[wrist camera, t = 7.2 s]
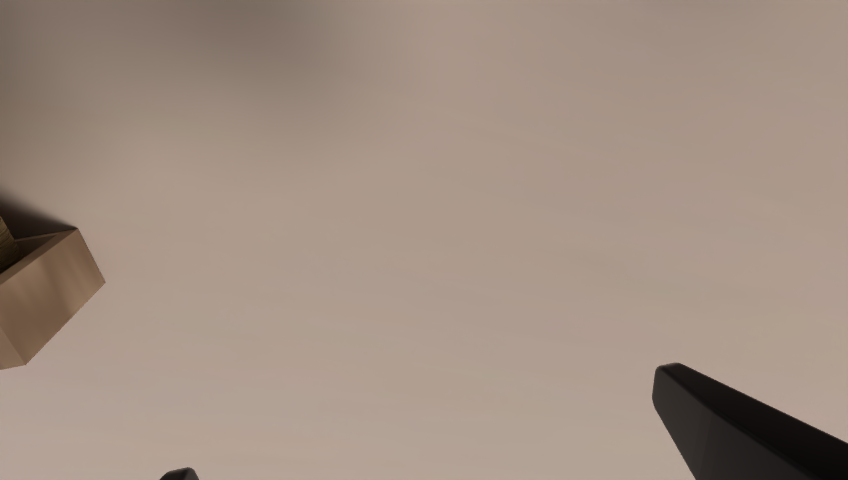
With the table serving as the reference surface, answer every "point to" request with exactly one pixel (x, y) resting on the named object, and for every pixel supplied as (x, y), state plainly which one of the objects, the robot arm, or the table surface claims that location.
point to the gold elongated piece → (8, 249)
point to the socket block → (43, 292)
